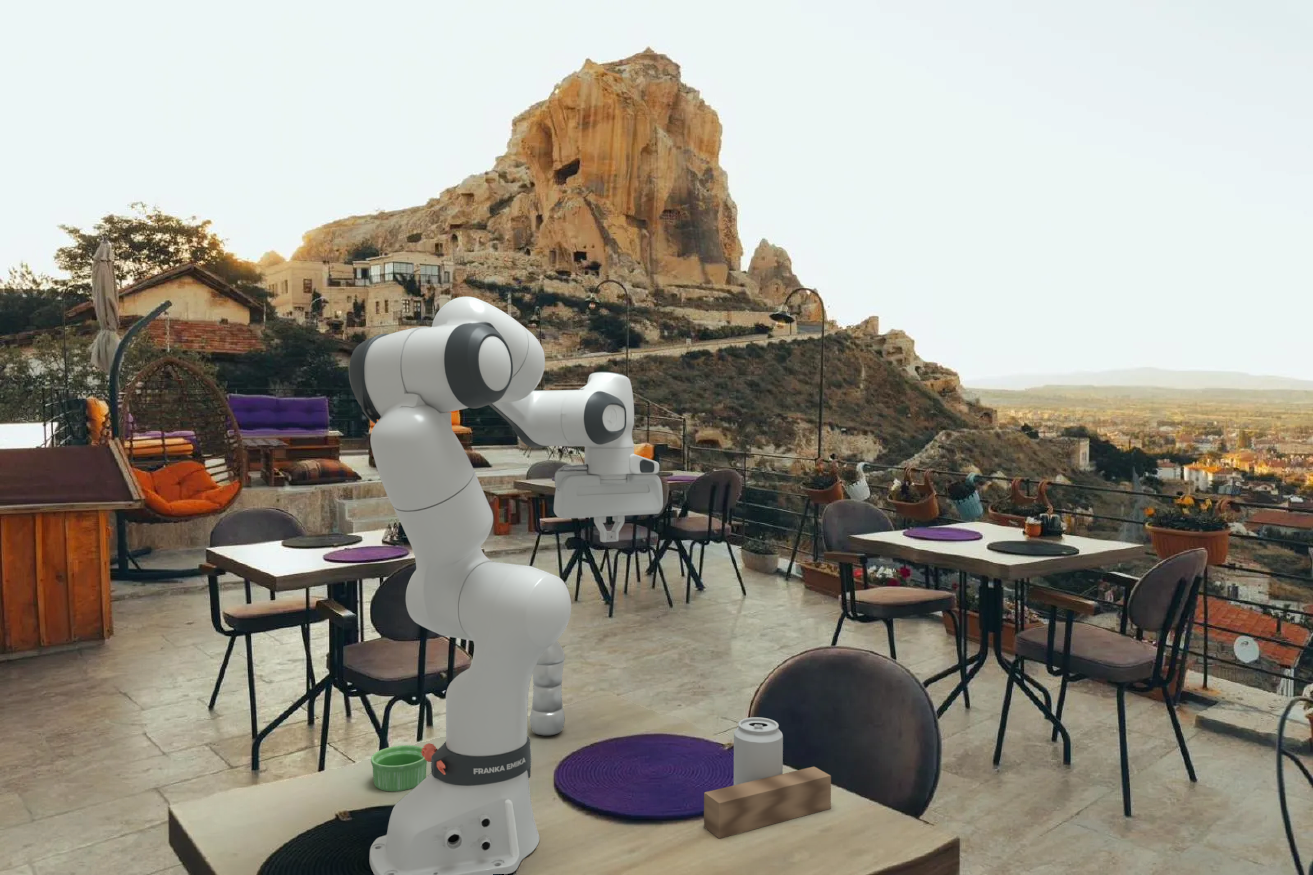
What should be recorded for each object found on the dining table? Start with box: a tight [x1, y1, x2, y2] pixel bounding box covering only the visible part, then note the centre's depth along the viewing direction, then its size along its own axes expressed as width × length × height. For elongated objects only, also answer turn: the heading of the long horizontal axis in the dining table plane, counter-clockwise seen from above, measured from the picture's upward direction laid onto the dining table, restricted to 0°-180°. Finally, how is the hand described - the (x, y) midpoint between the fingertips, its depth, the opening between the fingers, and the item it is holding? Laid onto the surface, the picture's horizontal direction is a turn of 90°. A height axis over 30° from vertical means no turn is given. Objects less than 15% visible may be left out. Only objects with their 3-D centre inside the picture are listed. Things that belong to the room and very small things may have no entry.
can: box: [733, 716, 784, 786], centre depth 134 cm, size 8×8×12 cm
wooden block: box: [703, 766, 832, 840], centre depth 128 cm, size 20×4×5 cm, turn 119°
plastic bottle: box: [529, 640, 566, 736], centre depth 162 cm, size 6×7×20 cm
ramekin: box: [370, 744, 428, 792], centre depth 141 cm, size 9×9×4 cm
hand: (609, 541), depth 155 cm, fingers closed
